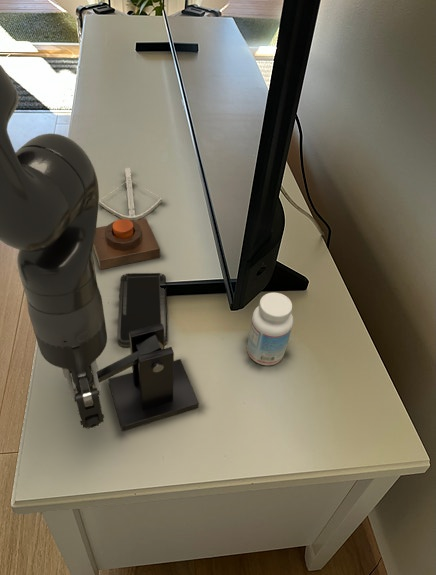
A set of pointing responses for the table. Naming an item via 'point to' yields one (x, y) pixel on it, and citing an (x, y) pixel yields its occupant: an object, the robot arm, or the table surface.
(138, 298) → the phone
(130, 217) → the crossbow
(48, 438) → the table surface
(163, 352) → the bracket
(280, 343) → the pill bottle
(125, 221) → the button
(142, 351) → the lever
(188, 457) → the table surface
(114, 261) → the button block
